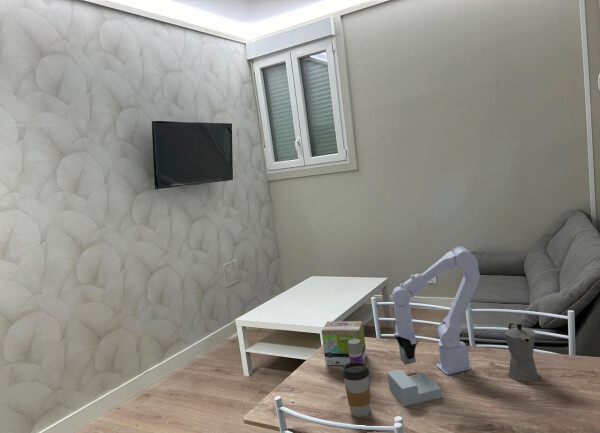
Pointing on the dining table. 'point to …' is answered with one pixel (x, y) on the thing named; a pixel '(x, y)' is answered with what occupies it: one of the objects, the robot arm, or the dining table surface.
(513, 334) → the coffeepot
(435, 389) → the stepped stand
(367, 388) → the coffee cup
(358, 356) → the container
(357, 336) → the tea box
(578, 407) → the dining table surface
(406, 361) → the column
